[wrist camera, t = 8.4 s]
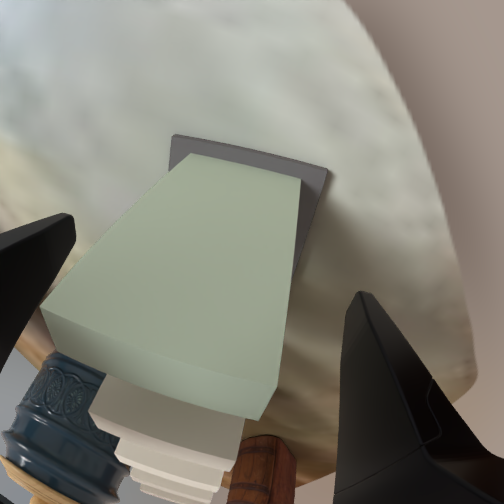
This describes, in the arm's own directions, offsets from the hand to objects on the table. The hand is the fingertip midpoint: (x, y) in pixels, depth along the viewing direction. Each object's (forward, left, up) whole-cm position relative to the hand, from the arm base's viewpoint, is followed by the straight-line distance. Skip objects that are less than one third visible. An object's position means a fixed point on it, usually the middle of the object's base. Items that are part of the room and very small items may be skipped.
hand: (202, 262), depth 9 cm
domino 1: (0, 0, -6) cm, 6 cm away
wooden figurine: (+8, -31, -7) cm, 33 cm away
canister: (-12, -26, -7) cm, 29 cm away
